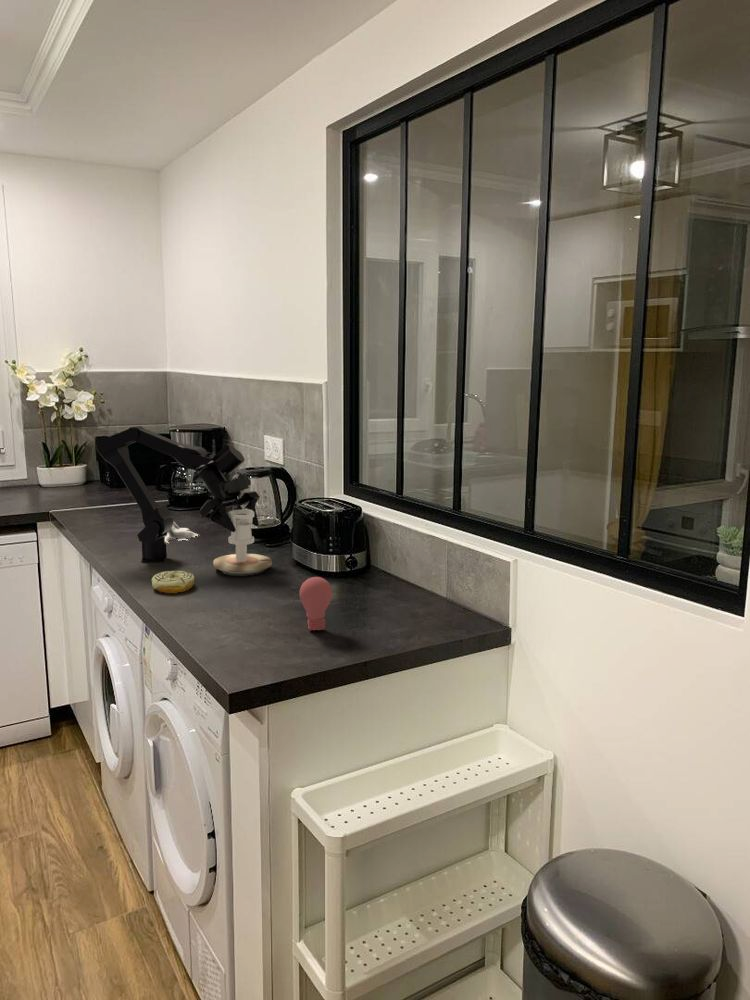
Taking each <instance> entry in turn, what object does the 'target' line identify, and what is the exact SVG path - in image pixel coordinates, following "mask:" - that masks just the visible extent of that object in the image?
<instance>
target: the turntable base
mask: <svg viewBox="0 0 750 1000" xmlns="http://www.w3.org/2000/svg"><path fill="white" fill-rule="evenodd" d="M264 571H265V569H264V570H260V571H254V572H227V571H222V570H220V572H221V573H222V574H224V573H225V574H224V575H227V574H228V575H227V576H233V575H234V576H235V577H247V576H246V575H250V576H255V574H256V575H259V574H262V573H263V572H264ZM261 572H262V573H261Z"/></svg>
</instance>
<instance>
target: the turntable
mask: <svg viewBox="0 0 750 1000" xmlns="http://www.w3.org/2000/svg"><path fill="white" fill-rule="evenodd" d="M212 563H213V564H212V565H213V568H215V569H217V570H219V571H221V570H222V571H227V572H254V571H260V570H264V571H265V570H267V569H268V568H270V567H271V566H272V564H273V563H272V559H271V558H270V557H269V556H267V555H262V554H258V553H257V554H256V553H247V561H246V562H236V553H233V554H232V553H231V554H227V555H222V556H219V557H217V558H215V559H214V560H213V562H212Z"/></svg>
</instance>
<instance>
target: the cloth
mask: <svg viewBox="0 0 750 1000" xmlns="http://www.w3.org/2000/svg"><path fill="white" fill-rule="evenodd" d="M198 535H199V534H198V533H195V532H193V531H191V530H190V529H189V528H188V527H179V525H178V524H177V523H176V522H175V521H174V520H173V526H172V528H171V529H170V530H169V531H168V533H167V536H164V537H165V542H167V543H168V544H170V541H171V540H173V539H174V540H175V539H176V538H178V539H176V540H178V541H177V542H183V541H182V540H186V541H189V540H188V539H192V538H191V537H193V538H196V537H195V536H197V537H199V536H198ZM172 538H173V539H172ZM186 538H188V539H186ZM169 540H170V541H169ZM168 541H169V542H168Z"/></svg>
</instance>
